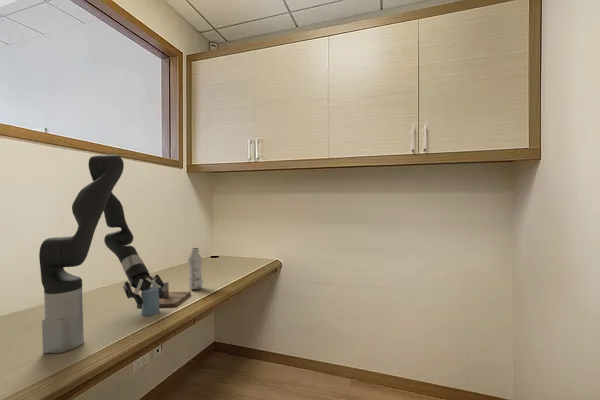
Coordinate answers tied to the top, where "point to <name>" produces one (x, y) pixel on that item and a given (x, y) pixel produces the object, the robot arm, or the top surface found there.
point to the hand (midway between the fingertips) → (152, 300)
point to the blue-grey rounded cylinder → (150, 301)
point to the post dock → (170, 297)
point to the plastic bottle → (195, 269)
